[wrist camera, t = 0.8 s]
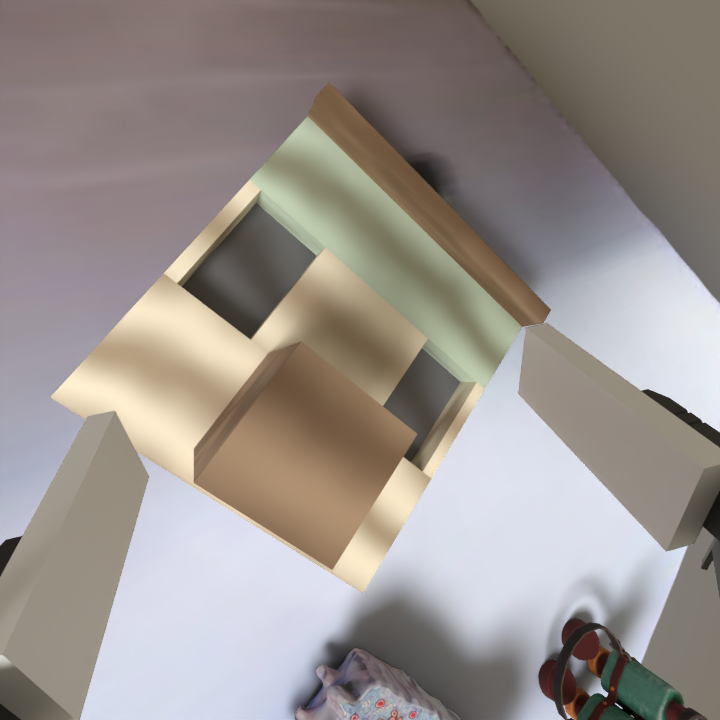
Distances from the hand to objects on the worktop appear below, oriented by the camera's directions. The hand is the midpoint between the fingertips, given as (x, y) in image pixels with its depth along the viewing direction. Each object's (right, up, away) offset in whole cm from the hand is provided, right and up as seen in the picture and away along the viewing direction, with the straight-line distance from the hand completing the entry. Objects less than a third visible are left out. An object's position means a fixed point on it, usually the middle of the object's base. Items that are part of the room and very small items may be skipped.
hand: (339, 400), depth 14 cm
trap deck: (-2, +2, +21) cm, 21 cm away
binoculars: (+21, -29, +29) cm, 46 cm away
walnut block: (-5, -4, +16) cm, 17 cm away
